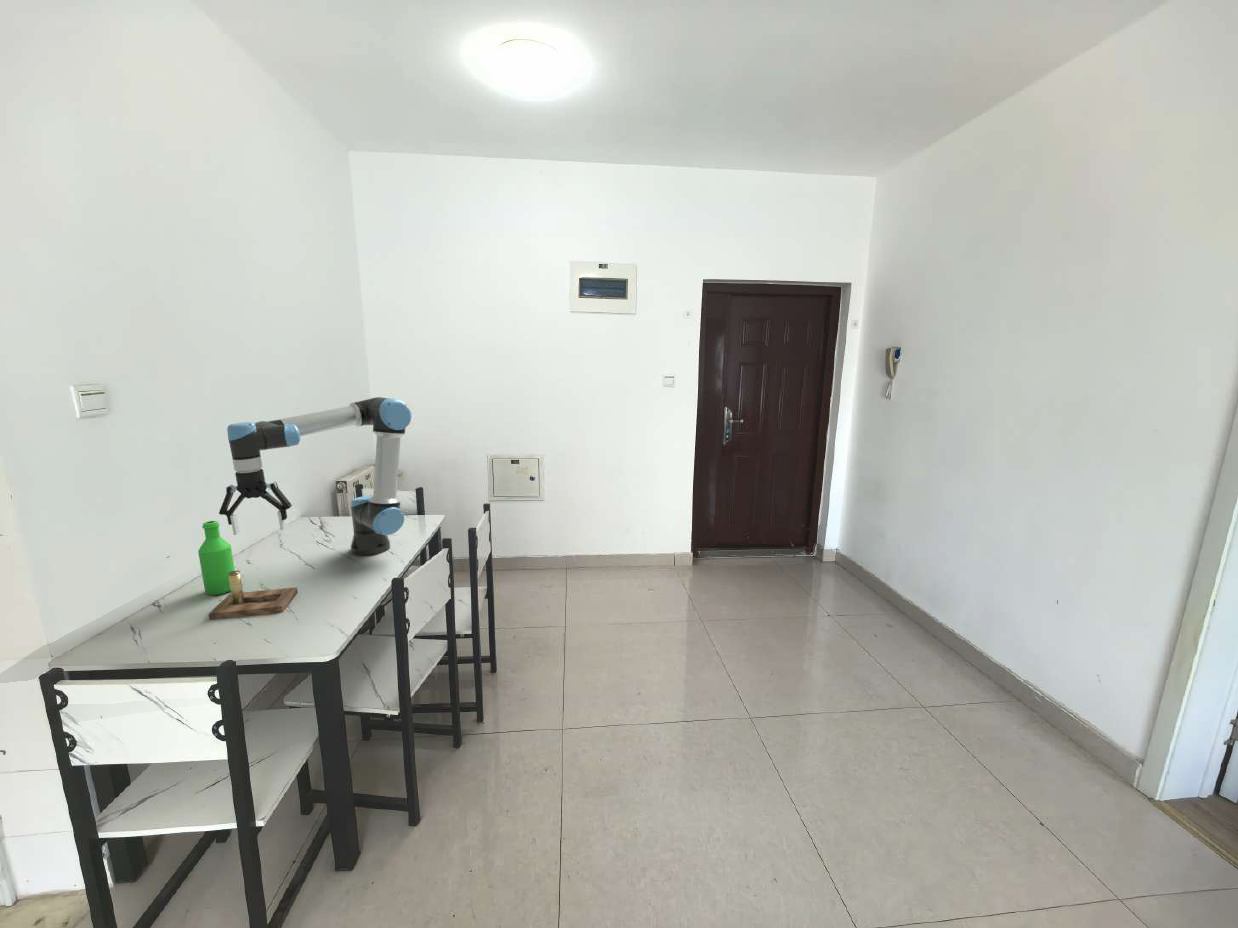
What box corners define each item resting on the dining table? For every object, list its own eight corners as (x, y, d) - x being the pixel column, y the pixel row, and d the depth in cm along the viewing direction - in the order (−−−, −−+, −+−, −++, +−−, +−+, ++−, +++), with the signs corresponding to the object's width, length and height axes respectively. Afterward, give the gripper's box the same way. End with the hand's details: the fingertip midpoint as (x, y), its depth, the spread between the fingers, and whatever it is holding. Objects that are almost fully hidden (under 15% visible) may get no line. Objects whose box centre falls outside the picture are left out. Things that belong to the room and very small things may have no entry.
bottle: (202, 598, 170) (190, 527, 164) (208, 587, 177) (197, 520, 172) (234, 593, 174) (223, 524, 168) (239, 583, 181) (229, 516, 176)
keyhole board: (297, 592, 174) (297, 587, 174) (282, 611, 161) (282, 606, 161) (230, 598, 169) (229, 593, 169) (209, 619, 156) (208, 613, 156)
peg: (247, 604, 166) (241, 570, 163) (241, 608, 163) (236, 574, 160) (237, 604, 165) (231, 570, 163) (231, 609, 163) (226, 574, 160)
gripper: (295, 464, 172) (305, 523, 177) (209, 470, 165) (222, 531, 170) (288, 469, 165) (298, 530, 170) (198, 475, 158) (211, 539, 163)
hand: (260, 531), depth 170 cm, fingers open, 13 cm apart
